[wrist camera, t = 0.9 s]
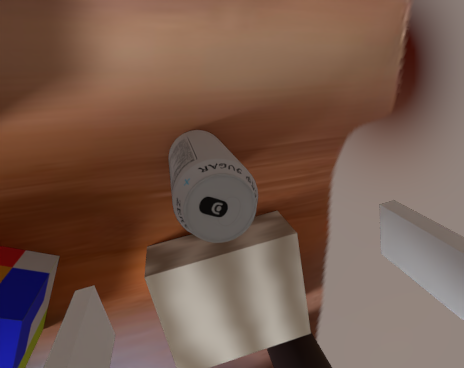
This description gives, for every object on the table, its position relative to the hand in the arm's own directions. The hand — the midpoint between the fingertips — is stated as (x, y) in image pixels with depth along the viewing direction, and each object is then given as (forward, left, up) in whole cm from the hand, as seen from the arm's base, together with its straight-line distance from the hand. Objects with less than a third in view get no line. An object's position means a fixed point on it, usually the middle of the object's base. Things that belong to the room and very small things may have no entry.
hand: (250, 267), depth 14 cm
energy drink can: (0, 0, -22) cm, 22 cm away
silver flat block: (0, -16, -22) cm, 27 cm away
